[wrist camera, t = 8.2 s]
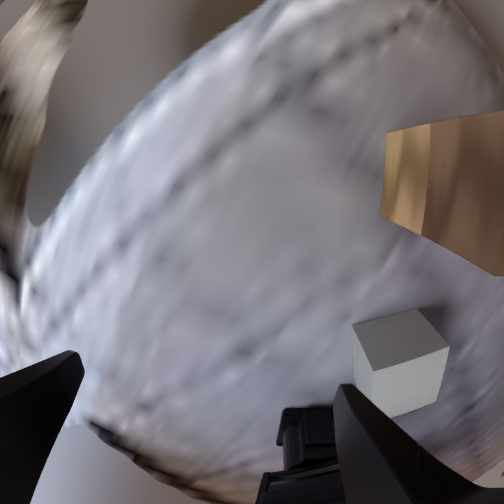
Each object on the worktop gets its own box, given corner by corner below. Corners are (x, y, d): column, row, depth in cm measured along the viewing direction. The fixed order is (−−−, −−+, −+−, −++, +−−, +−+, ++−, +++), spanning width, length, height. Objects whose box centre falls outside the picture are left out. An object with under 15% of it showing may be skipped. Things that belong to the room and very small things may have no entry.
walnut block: (490, 243, 13) (555, 277, 7) (421, 234, 13) (493, 275, 7) (500, 149, 11) (570, 155, 5) (430, 122, 11) (509, 109, 5)
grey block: (410, 360, 22) (435, 401, 16) (352, 376, 23) (369, 424, 17) (415, 307, 21) (449, 345, 15) (351, 324, 21) (373, 371, 15)
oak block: (443, 224, 18) (490, 244, 13) (380, 215, 19) (420, 235, 13) (450, 149, 17) (500, 149, 11) (386, 133, 17) (430, 123, 11)
